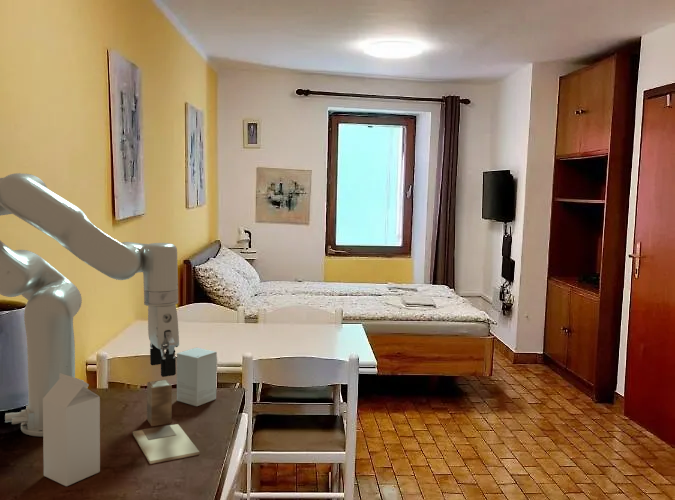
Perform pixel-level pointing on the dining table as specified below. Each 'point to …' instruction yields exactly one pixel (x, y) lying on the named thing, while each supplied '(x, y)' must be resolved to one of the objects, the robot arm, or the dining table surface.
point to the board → (165, 443)
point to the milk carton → (71, 431)
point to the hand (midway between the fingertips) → (162, 369)
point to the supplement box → (196, 376)
